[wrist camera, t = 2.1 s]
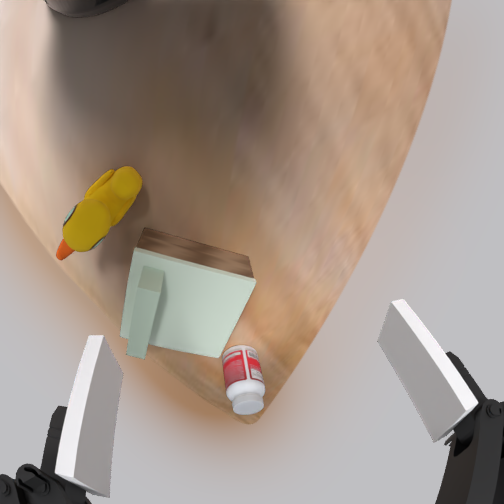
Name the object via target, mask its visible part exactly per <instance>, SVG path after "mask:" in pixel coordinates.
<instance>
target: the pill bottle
mask: <svg viewBox="0 0 504 504" xmlns="http://www.w3.org/2000/svg"><path fill="white" fill-rule="evenodd" d="M222 361H223V370H224V379H225V387H226V394H227V397H228V398H229V399H230V400H231V401H232V406H233V410H234V412H235V413H237V414H240V415H249V414H254V413H257V412H259V411H260V410H262V409H263V407H264V403H263V398H262V397H263V395H264V393H265V385H264V381H263V376H262V372H261V367H260V363H259V359H258V355H257V352H256V350H255V349H254V348H252V347H250V346H247V345H237V346H233V347H230V348H229V349H227V350H226V351H225V352H224V354H223V357H222Z"/></svg>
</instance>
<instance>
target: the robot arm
mask: <svg viewBox="0 0 504 504" xmlns="http://www.w3.org/2000/svg"><path fill="white" fill-rule="evenodd" d="M127 1H128V0H45V2H46V3H47V5H48V6H49V7H51V8H52V9H53V10H55V11H57V12H59V13H61V14H64V15H67V16H71V17H87V16H93V15H97V14H101V13H103V12H106V11H109V10H111V9H113V8H116V7H118V6H120V5H121V4H123V3H125V2H127ZM377 342H378V343H379V345H380V347H381V348H382V350H383V352H384V353H385V355H386V357H387V358H388V360H389V362H390V363H391V365H392V367H393V368H394V370H395V372H396V374H397V375H398V377H399V379H400V380H401V382H402V384H403V386H404V387H405V390H406V391H407V393H408V395H409V397H410V399H411V400H412V402H413V404H414V406H415V408H416V410H417V411H418V413H419V415H420V417H421V419H422V421H423V423H424V424H425V426H426V428H427V430H428V432H429V434H430V436H431V438H432V440H433V442H436V441H437V440H440V439H441V438H443V437H445V436H447V435H448V434H449V433H450V432H451V431H452V430H454V432H455V433H454V434H453V435H451V436H450V437H449V438H448V439H447V441H446V442H445V444H444V445H447V444H448V443H449V442H451V441H452V442H451V443H450V445H449V446H451V447H450V451H449V456H448V461H447V465H446V469H445V473H444V476H443V480H442V484H441V487H440V491H439V494H438V497H437V500H436V503H435V504H504V402H500V403H499V402H498V401H496V400H494V399H489V400H488V399H487V398H486V397H485V395H484V394H483V393H482V391H481V389H480V388H479V386H478V385H477V384H476V382H475V381H474V379H473V378H472V377H471V375H470V374H469V372H468V370H467V369H466V368H464V365H463V363H462V362H461V361H460V359H459V358H458V357H457V356H455V355H454V354H452V353H451V352H447V353H445V352H444V351H443V350H442V348H441V347H440V346H439V344H438V343H437V342H436V340H435V339H434V337H433V336H432V335H431V334H430V332H429V331H428V330H427V328H426V327H425V326H424V324H423V323H422V322H421V321H420V319H419V318H418V317H417V315H416V314H415V313H414V312H413V311H412V309H411V308H410V307H409V305H408V304H407V303H406V302H405V300H404V299H401V300H396V301H391V303H390V306H389V309H388V312H387V315H386V319H385V321H384V324H383V327H382V330H381V332H380V336H379V338H378V341H377ZM122 379H123V372H122V370H121V368H120V366H119V364H118V362H117V361H116V359H115V357H114V355H113V353H112V351H111V349H110V347H109V345H108V343H107V341H106V339H105V337H104V335H89V337H88V340H87V343H86V346H85V349H84V352H83V355H82V358H81V362H80V365H79V368H78V371H77V375H76V378H75V382H74V385H73V389H72V392H71V396H70V400H69V404H68V407H64V406H58V407H57V409H56V410H55V412H54V413H53V415H52V418H51V422H50V428H49V430H48V434H47V435H48V437H47V439H46V444H45V448H44V454H43V459H42V464H41V468H40V469H38V468H37V467H35V466H34V465H32V464H24V465H22V466H21V467H19V469H18V470H17V473H16V479H12V478H10V477H9V476H7V475H4V474H1V475H0V504H91V502H90V501H89V499H87V497H86V491H87V492H89V493H91V494H93V495H97V496H103V497H110V479H111V464H112V451H113V443H114V433H115V425H116V417H117V410H118V403H119V397H120V390H121V384H122Z"/></svg>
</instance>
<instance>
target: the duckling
mask: <svg viewBox="0 0 504 504" xmlns="http://www.w3.org/2000/svg"><path fill="white" fill-rule="evenodd" d="M141 187H142V178H141V176H140V175H139V173H138V172H137V171H136V170H135V169H134V168H132V167H129V166H125V167H121V168H119V169H118V170H116V171H114V170H113V169H110V170H108V171H107V172H106V173H104V174H103V175H102V176H101V177H100V178H99V179H98V180H97V181H96V182H95V183H94V184H93V185H92V186H91V187H90V188H89V189H88V190H87V192H86V193H85V196H84V200H83V201H82V202H80V203H78V204H77V205H76V206H75V207H74V208H73V209H72V210H71V211H70V212H69V214H68V215H67V217H66V219H65V221H64V224H63V238H64V239H63V240H62V242H61V244H60V246H59V248H58V250H57V253H56V257H57V258H58V259H59V260H63V259H65V258H66V257H67V256H69V255H70V254H72V253H73V252H74V251H78V252H85V251H89V250H91V249H93V248H95V247H96V246H97V245H99V244H100V243H101V242H102V240H103V239H104V238H105V237H106V235H107V233H108V231H109V229H110V226H115V225H116V224H117V223H118V222H119V221H120V220H121V219H122V218H123V216H124V215H125V213H126V212H127V211H128V209H129V208H130V207H131V205H132V204H133V202H134V201H135V199H136V195H137V194H138V193H139V191H140V190H141Z"/></svg>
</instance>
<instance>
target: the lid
mask: <svg viewBox="0 0 504 504" xmlns="http://www.w3.org/2000/svg"><path fill="white" fill-rule="evenodd" d="M255 285H256V280H255V279H254V278H250V277H246V276H242V275H238V274H234V273H230V272H226V271H223V270H219V269H215V268H211V267H207V266H203V265H200V264H196V263H192V262H188V261H185V260H181V259H177V258H174V257H170V256H166V255H163V254H159V253H155V252H152V251H148V250H145V249H141V248H137V247H135V249H134V252H133V257H132V262H131V267H130V272H129V278H128V284H127V289H126V295H125V302H124V309H123V315H122V323H121V331H120V337H122V338H126V339H128V346H127V353H126V355H129V356H133V357H137V358H141V359H145V356H146V351H147V347H148V344H150V345H154V346H159V347H163V348H168V349H173V350H177V351H182V352H187V353H192V354H198V355H203V356H209V357H215V358H219V357H220V355H221V353H222V351H223V349H224V347H225V345H226V343H227V341H228V339H229V337H230V335H231V333H232V331H233V329H234V327H235V325H236V323H237V321H238V319H239V317H240V315H241V313H242V311H243V309H244V307H245V305H246V303H247V301H248V299H249V297H250V295H251V293H252V291H253V289H254V287H255Z"/></svg>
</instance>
